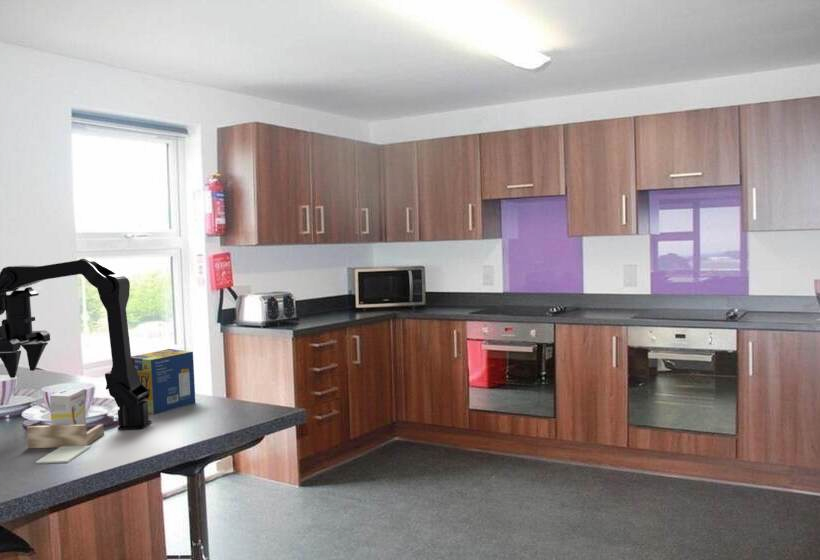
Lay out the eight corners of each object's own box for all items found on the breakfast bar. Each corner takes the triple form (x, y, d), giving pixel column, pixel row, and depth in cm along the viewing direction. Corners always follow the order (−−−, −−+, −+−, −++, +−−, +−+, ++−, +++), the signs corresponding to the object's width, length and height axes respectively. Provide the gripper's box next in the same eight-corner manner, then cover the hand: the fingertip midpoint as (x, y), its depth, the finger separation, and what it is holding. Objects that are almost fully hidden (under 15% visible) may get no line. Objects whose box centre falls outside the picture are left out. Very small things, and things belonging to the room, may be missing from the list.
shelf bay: (103, 434, 177) (102, 414, 177) (85, 446, 167) (83, 425, 166) (50, 435, 177) (48, 416, 177) (28, 448, 167) (26, 427, 167)
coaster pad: (90, 447, 166) (90, 445, 166) (67, 462, 155) (67, 460, 155) (61, 448, 166) (61, 446, 166) (36, 463, 155) (35, 461, 155)
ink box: (72, 444, 169) (68, 395, 168) (51, 444, 169) (48, 396, 168) (88, 433, 178) (85, 387, 177) (68, 434, 178) (65, 388, 177)
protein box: (129, 410, 201) (125, 357, 199) (172, 399, 214) (170, 348, 213) (153, 414, 195) (150, 359, 194) (196, 402, 208) (194, 350, 207)
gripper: (8, 311, 191) (12, 368, 192) (-36, 319, 172) (-31, 382, 173) (49, 310, 191) (53, 366, 192) (9, 318, 172) (14, 381, 173)
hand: (22, 374), depth 183 cm, fingers open, 9 cm apart
